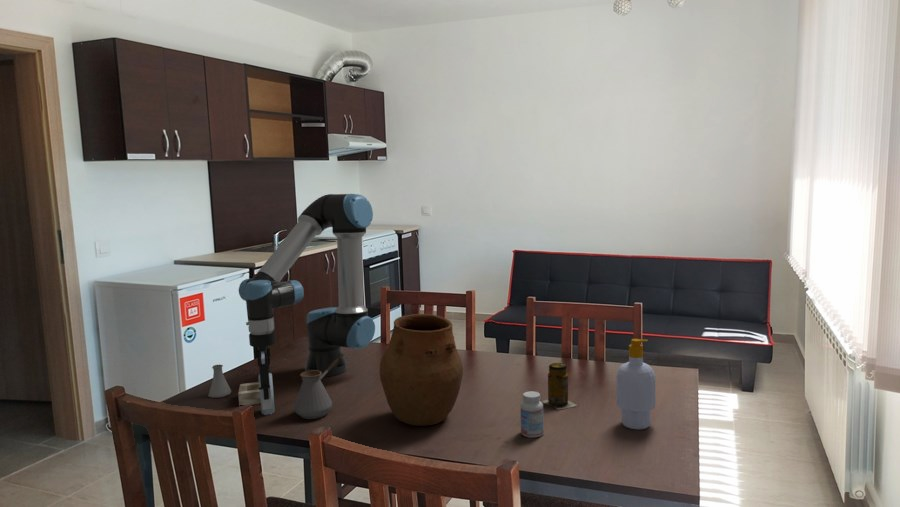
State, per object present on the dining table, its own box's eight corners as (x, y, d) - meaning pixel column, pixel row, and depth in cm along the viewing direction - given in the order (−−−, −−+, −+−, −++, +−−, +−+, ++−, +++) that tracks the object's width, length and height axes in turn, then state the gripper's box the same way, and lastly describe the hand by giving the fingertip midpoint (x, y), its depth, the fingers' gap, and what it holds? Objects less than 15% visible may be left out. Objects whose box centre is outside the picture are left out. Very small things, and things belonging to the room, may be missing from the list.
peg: (274, 409, 201) (271, 372, 200) (274, 414, 197) (271, 376, 196) (261, 411, 200) (258, 373, 199) (261, 415, 196) (258, 377, 195)
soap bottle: (658, 433, 173) (658, 345, 170) (618, 431, 175) (617, 344, 171) (652, 418, 183) (653, 335, 180) (615, 417, 185) (615, 334, 182)
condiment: (561, 397, 202) (560, 360, 200) (577, 406, 195) (577, 367, 193) (541, 401, 199) (540, 364, 197) (557, 410, 191) (557, 371, 190)
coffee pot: (314, 424, 188) (311, 374, 186) (286, 417, 194) (282, 369, 192) (361, 400, 206) (358, 354, 204) (333, 395, 212) (330, 350, 210)
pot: (434, 443, 172) (430, 333, 168) (364, 427, 185) (358, 324, 181) (479, 412, 192) (476, 313, 188) (413, 399, 205) (408, 307, 201)
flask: (224, 398, 213) (221, 369, 211) (204, 398, 214) (201, 368, 213) (235, 391, 220) (233, 362, 218) (216, 390, 221) (213, 362, 220)
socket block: (272, 392, 217) (271, 380, 217) (271, 402, 208) (270, 390, 207) (241, 395, 215) (240, 384, 214) (239, 406, 205) (238, 394, 205)
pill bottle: (519, 430, 178) (518, 391, 177) (540, 428, 179) (540, 389, 177) (523, 439, 172) (522, 398, 171) (546, 437, 173) (545, 397, 171)
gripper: (250, 326, 203) (255, 397, 206) (247, 340, 186) (253, 417, 189) (274, 324, 205) (280, 394, 208) (274, 337, 188) (280, 414, 191)
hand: (267, 405), depth 199 cm, fingers open, 4 cm apart
